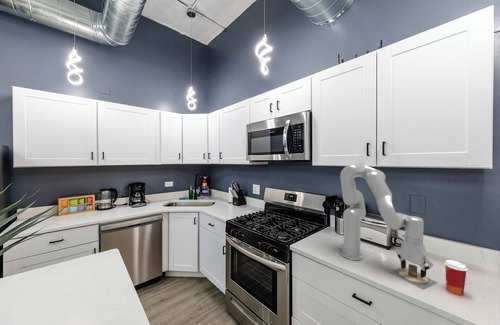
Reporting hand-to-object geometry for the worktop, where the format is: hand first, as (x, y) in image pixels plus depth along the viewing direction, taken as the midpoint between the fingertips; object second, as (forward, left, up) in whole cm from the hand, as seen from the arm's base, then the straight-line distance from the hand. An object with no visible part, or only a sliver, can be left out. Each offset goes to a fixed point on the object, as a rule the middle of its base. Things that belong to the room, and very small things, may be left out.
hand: (412, 272), depth 106 cm
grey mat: (0, 0, -3) cm, 3 cm away
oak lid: (0, 0, -3) cm, 3 cm away
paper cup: (+15, +6, -3) cm, 16 cm away
